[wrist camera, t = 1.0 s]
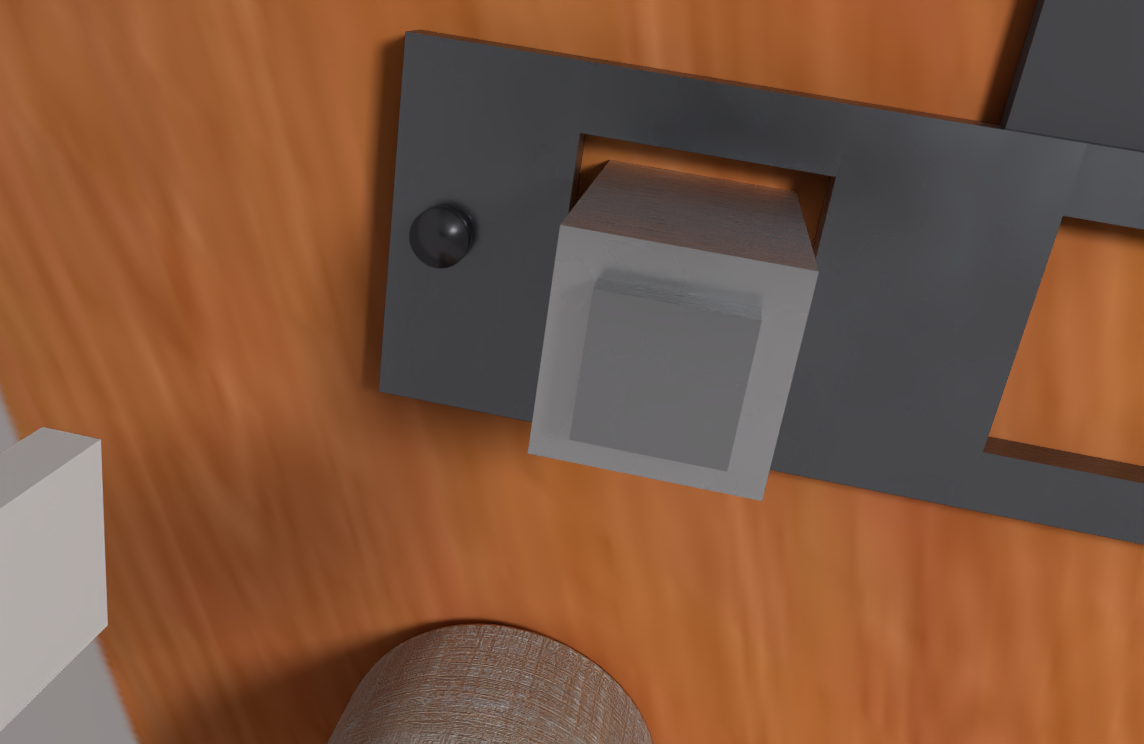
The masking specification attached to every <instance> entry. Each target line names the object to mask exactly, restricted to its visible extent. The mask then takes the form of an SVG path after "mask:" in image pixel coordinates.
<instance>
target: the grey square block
mask: <svg viewBox="0 0 1144 744" xmlns="http://www.w3.org/2000/svg"><path fill="white" fill-rule="evenodd" d="M818 273H819V270H818V266H817V263H816V259H815V256H814V252H813V249H812V245H811V242H810V238H809V235H808V231H807V228H806V224H805V221H804V217H803V214H802V210H801V207H800V203H799V200H798V196H797V193H796V192H794V191H788V190H783V189H777V188H771V187H765V186H759V185H754V184H748V183H742V182H736V181H731V180H725V179H719V178H713V177H708V176H702V175H696V174H690V173H684V172H679V171H673V170H667V169H661V168H656V167H650V166H644V165H638V164H633V163H627V162H621V161H615V160H609V162H608V163H607V164H606V166H605V167H604V168H603V170H602V171H601V172H600V173H599V175H598V176H597V177H596V179H595V180H594V181H593V183H592V184H591V185H590V187H589V188H588V189H587V190H586V192H585V193H584V194H583V196H582V197H581V198H580V200H579V201H578V202H577V203H576V205H575V206H574V207H573V209H572V210H571V211H570V213H569V214H568V215H567V216H566V218H565V219H564V220H563V222H562V223H561V224H560V229H559V236H558V243H557V250H556V257H555V265H554V272H553V279H552V286H551V293H550V300H549V307H548V314H547V321H546V328H545V335H544V342H543V349H542V356H541V363H540V370H539V378H538V385H537V392H536V399H535V406H534V413H533V420H532V427H531V434H530V441H529V448H528V453H529V454H534V455H538V456H543V457H548V458H553V459H558V460H563V461H568V462H573V463H578V464H583V465H588V466H593V467H598V468H602V469H607V470H612V471H617V472H622V473H627V474H632V475H637V476H642V477H647V478H652V479H657V480H661V481H666V482H671V483H676V484H681V485H686V486H691V487H696V488H701V489H706V490H711V491H716V492H721V493H725V494H730V495H735V496H740V497H745V498H750V499H755V500H760V501H762V499H763V494H764V490H765V486H766V482H767V478H768V474H769V470H770V466H771V462H772V458H773V454H774V450H775V446H776V442H777V438H778V434H779V430H780V426H781V422H782V418H783V414H784V410H785V406H786V402H787V398H788V394H789V390H790V386H791V382H792V378H793V374H794V370H795V366H796V362H797V358H798V354H799V350H800V346H801V342H802V338H803V334H804V330H805V326H806V322H807V318H808V314H809V310H810V306H811V302H812V297H813V293H814V289H815V285H816V281H817V277H818Z"/></svg>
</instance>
